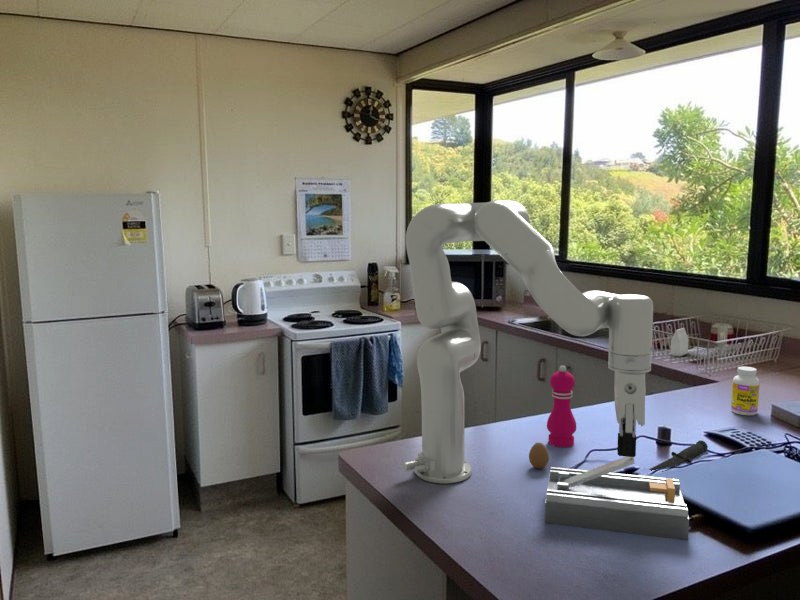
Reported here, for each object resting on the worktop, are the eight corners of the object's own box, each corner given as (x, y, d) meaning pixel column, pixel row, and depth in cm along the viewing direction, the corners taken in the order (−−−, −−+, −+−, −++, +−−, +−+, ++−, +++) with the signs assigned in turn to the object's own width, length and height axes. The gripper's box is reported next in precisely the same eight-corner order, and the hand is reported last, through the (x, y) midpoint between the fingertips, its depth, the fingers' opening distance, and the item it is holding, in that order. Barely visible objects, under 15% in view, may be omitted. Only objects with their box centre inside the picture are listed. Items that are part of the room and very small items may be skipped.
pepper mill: (577, 449, 157) (578, 369, 154) (546, 447, 158) (548, 368, 155) (575, 438, 164) (576, 362, 161) (546, 436, 165) (547, 361, 162)
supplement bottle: (732, 414, 180) (734, 370, 178) (729, 407, 186) (732, 364, 184) (759, 417, 177) (762, 372, 175) (755, 410, 183) (758, 366, 181)
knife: (695, 444, 157) (702, 437, 155) (710, 459, 154) (717, 452, 152) (631, 467, 144) (637, 459, 142) (646, 484, 141) (652, 476, 139)
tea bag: (687, 353, 251) (689, 328, 250) (679, 356, 247) (680, 331, 246) (678, 352, 254) (679, 327, 253) (670, 354, 250) (671, 329, 248)
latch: (650, 501, 120) (650, 486, 119) (648, 491, 124) (648, 476, 123) (674, 504, 118) (675, 488, 118) (671, 493, 123) (672, 478, 122)
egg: (538, 473, 143) (538, 448, 142) (524, 466, 147) (524, 442, 146) (552, 469, 145) (553, 443, 144) (538, 462, 149) (539, 437, 148)
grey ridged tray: (544, 522, 121) (545, 491, 120) (549, 490, 134) (549, 462, 133) (688, 540, 114) (689, 507, 113) (678, 504, 127) (679, 475, 126)
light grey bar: (561, 492, 125) (558, 487, 125) (562, 485, 128) (559, 480, 128) (635, 464, 120) (632, 459, 120) (634, 458, 123) (631, 453, 123)
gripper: (654, 372, 111) (650, 472, 114) (647, 352, 125) (644, 442, 128) (609, 370, 113) (606, 468, 116) (607, 351, 127) (604, 439, 130)
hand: (626, 454), depth 122 cm, fingers closed
